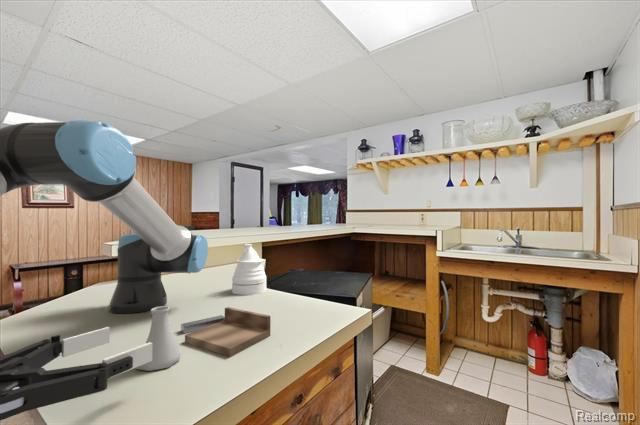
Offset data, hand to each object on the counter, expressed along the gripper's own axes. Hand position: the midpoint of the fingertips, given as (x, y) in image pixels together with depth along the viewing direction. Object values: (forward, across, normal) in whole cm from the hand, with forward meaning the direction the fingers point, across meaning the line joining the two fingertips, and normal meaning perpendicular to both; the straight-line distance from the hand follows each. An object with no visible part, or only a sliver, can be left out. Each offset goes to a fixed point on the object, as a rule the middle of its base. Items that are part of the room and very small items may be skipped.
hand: (128, 342), depth 48 cm
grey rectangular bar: (+22, -8, -6) cm, 24 cm away
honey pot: (+56, -26, -6) cm, 62 cm away
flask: (+6, 0, -6) cm, 8 cm away
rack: (+20, +3, -6) cm, 21 cm away
